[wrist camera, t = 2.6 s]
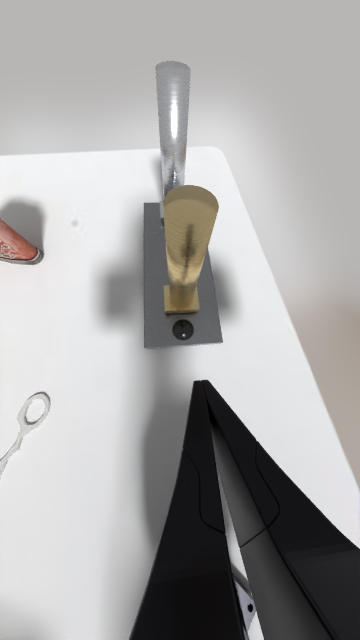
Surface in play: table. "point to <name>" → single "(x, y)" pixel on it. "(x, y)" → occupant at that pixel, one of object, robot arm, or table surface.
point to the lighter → (17, 248)
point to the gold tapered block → (186, 243)
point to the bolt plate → (173, 140)
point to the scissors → (25, 426)
